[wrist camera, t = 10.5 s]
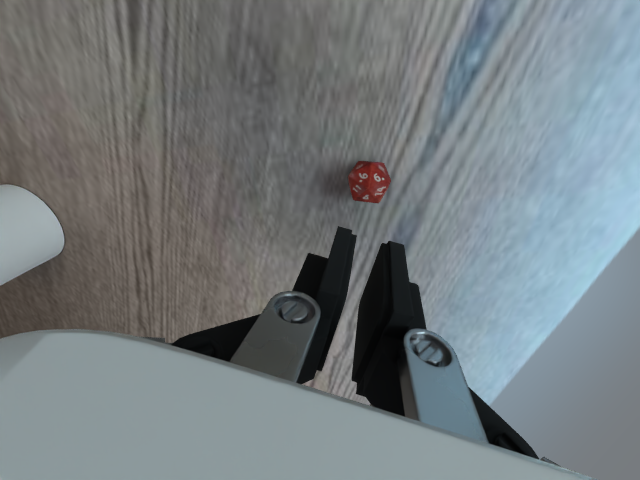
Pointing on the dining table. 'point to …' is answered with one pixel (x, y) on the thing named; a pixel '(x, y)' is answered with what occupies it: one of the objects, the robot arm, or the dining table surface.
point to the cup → (26, 232)
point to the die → (368, 181)
